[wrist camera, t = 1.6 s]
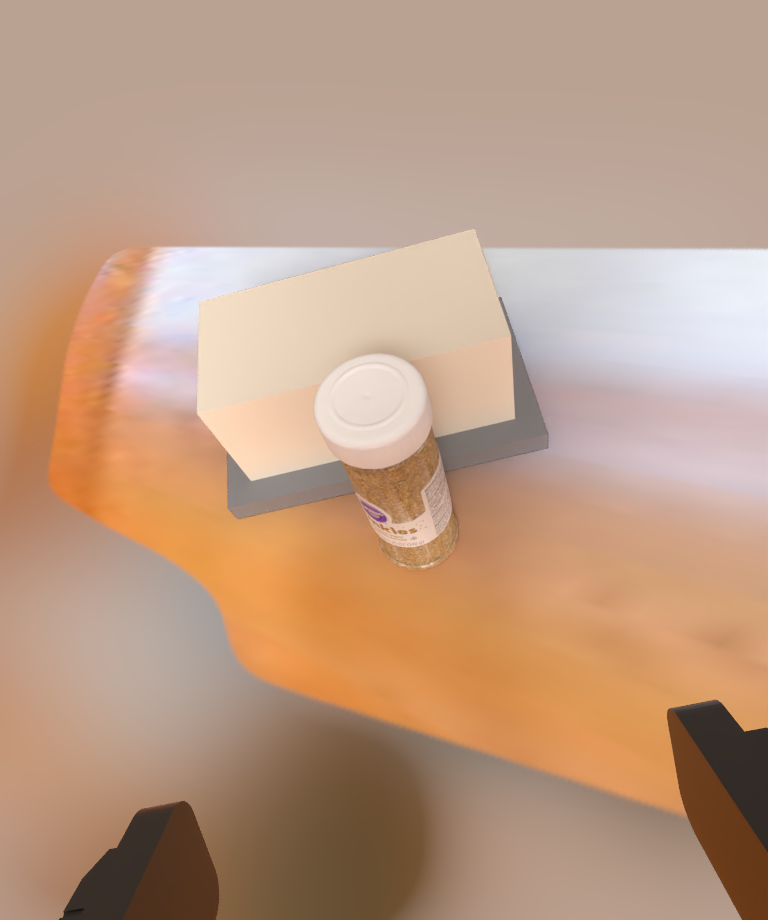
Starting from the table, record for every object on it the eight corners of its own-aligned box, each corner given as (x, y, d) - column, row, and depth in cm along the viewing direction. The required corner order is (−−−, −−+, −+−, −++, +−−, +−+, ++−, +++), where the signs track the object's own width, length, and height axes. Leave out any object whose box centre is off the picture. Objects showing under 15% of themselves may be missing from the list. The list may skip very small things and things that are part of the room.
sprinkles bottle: (368, 558, 35) (290, 429, 24) (399, 489, 37) (339, 338, 26) (444, 584, 34) (398, 458, 22) (472, 511, 36) (443, 359, 24)
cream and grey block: (502, 312, 42) (495, 204, 35) (547, 448, 37) (551, 351, 29) (234, 380, 44) (175, 290, 37) (237, 519, 38) (167, 445, 31)
